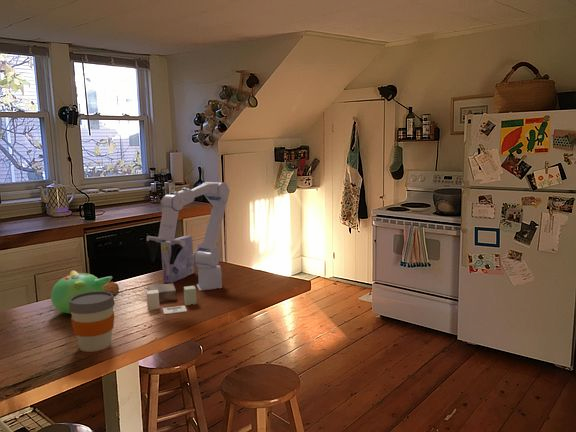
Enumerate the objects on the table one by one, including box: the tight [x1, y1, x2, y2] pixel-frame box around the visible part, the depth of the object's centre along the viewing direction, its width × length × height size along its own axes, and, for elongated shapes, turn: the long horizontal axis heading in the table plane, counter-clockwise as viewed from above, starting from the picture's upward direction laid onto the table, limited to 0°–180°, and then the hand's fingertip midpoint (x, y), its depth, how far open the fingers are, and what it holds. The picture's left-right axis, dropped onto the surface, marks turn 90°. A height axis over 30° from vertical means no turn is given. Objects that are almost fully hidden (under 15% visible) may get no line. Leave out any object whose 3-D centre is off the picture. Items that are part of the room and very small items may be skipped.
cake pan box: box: [160, 235, 195, 284], centre depth 217 cm, size 19×5×18 cm, turn 158°
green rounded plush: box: [50, 270, 113, 315], centre depth 175 cm, size 18×17×15 cm
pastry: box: [103, 281, 120, 296], centre depth 197 cm, size 9×7×4 cm
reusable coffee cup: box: [69, 291, 115, 353], centre depth 146 cm, size 13×13×15 cm
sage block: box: [183, 285, 198, 306], centre depth 184 cm, size 4×4×6 cm
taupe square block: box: [146, 282, 177, 303], centre depth 191 cm, size 10×10×4 cm
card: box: [162, 305, 188, 315], centre depth 176 cm, size 8×6×1 cm
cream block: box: [146, 290, 161, 311], centre depth 179 cm, size 4×4×6 cm
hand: (162, 263), depth 180 cm, fingers open, 7 cm apart
